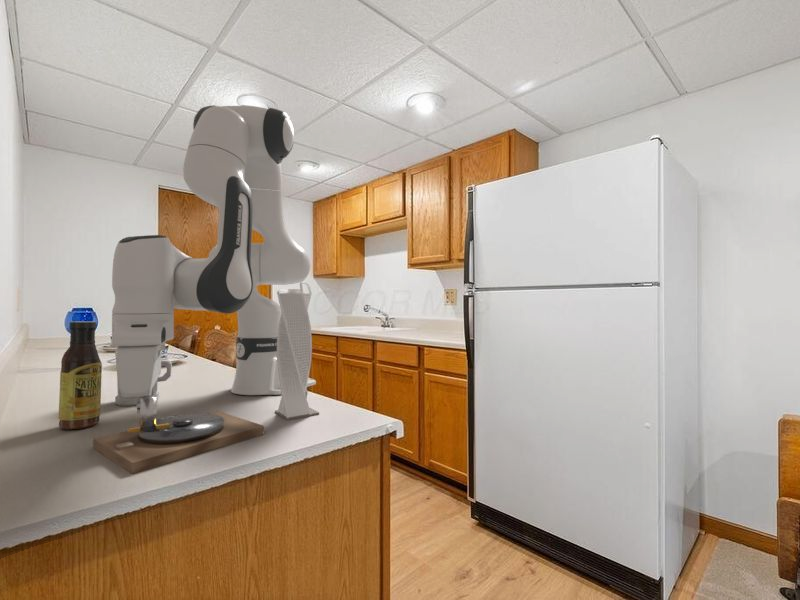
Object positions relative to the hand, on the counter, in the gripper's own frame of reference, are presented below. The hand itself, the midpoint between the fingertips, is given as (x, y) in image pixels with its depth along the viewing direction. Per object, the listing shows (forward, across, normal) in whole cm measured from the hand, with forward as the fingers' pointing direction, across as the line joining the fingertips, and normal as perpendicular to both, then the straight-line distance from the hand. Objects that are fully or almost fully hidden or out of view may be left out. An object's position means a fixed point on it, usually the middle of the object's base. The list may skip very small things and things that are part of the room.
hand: (143, 412), depth 69 cm
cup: (+5, -33, -4) cm, 34 cm away
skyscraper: (+5, -6, +27) cm, 28 cm away
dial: (+3, +2, +5) cm, 6 cm away
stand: (+5, +2, +6) cm, 8 cm away
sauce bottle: (+5, -16, -12) cm, 20 cm away
